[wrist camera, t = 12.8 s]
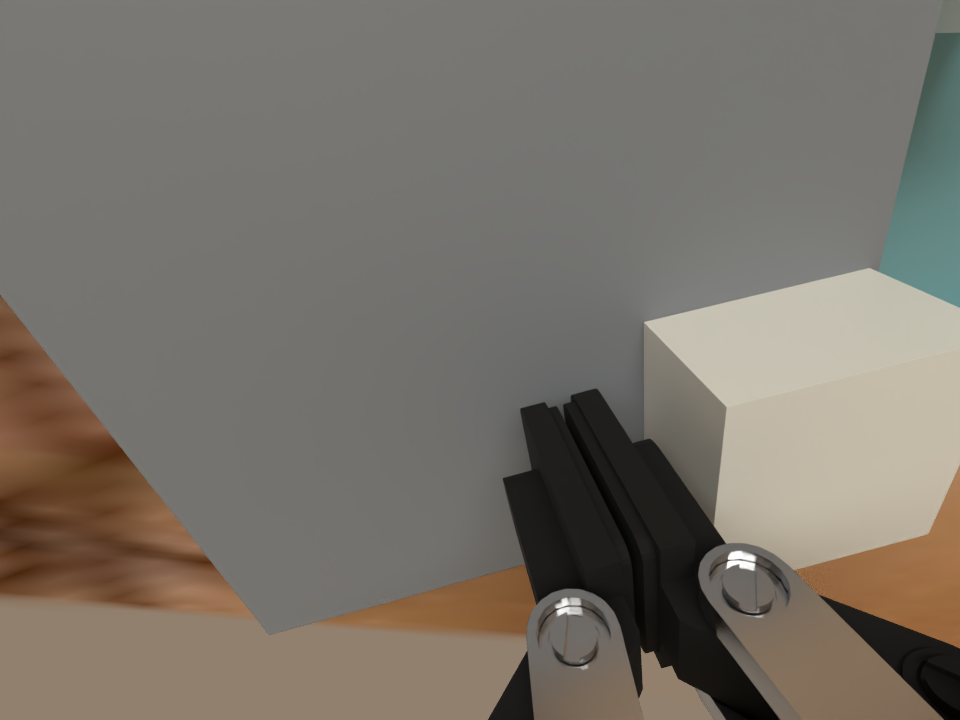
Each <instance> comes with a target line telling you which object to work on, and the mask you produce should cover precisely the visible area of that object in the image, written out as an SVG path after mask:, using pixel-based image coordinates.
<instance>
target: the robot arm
mask: <svg viewBox="0 0 960 720" xmlns="http://www.w3.org/2000/svg"><path fill="white" fill-rule="evenodd" d="M563 410H564V417H565V421H564V419H563V417H562V415H561V413H560V411H559V409H558V407H557V406H554V407H550V408H548V406H547V404H546V403H545V402H542V403H539V404H535V405H531V406H527V407H524V408H520V413H521V418H522V423H523V428H524V433H525V438H526V443H527V448H528V453H529V458H530V463H531V469H532V470H531V471H527V472H523V473H520V474H516V475H512V476H509V477H505V478H503V483H504V487H505V491H506V495H507V499H508V503H509V507H510V511H511V515H512V519H513V523H514V526H515V530H516V534H517V537H518V541H519V544H520V548H521V551H522V555H523V559H524V562H525V566H526V569H527V573H528V576H529V580H530V583H531V587H532V590H533V594H534V597H535V601H536V607H535V608H534V609H533V610H532V613H531V615H530V618H529V620H528V623H527V635H526V639H527V649H528V651H527V652H526V654H525V656H524V658H523V659H522V661H521V663H520V665H519V667H518V668H517V670H516V672H515V674H514V675H513V677H512V679H511V680H510V682H509V684H508V686H507V687H506V689H505V691H504V693H503V695H502V696H501V698H500V700H499V702H498V703H497V705H496V707H495V708H494V710H493V712H492V714H491V715H490V717H489V719H488V720H644V718H643V714H642V710H641V706H640V702H639V697H640V694H641V692H642V689H643V686H642V668H641V667H642V666H641V648H642V649H643V651H644V652H645V653H649V652H652V651H654V653H655V654H656V657H657V659H658V661H659V664H660V666H661V668H664V667H668V666H671V665H672V667H673V669H674V671H675V673H676V675H677V677H678V679H680V680H682V681H683V682H686V683H687V684H689V685H691V686H693V687H695V689H696V691H697V693H698V695H699V697H700V699H701V701H702V702H703V703H704V705H705V707H706V708H707V710H708V712H709V713H710V714H711V716H712V718H713V719H714V720H960V649H959V648H957V647H955V646H953V645H950V644H948V643H945V642H942V641H940V640H937V639H935V638H932V637H929V636H927V635H924V634H921V633H919V632H916V631H913V630H911V629H908V628H905V627H903V626H900V625H897V624H895V623H892V622H889V621H887V620H884V619H881V618H879V617H876V616H874V615H871V614H868V613H866V612H863V611H860V610H858V609H855V608H852V607H850V606H847V605H844V604H842V603H839V602H836V601H834V600H831V599H828V598H826V597H823V596H820V595H818V594H817V593H816V592H815V591H814V590H813V589H812V588H811V587H810V586H809V585H808V584H807V583H806V582H805V581H804V580H803V579H802V578H801V577H800V576H799V575H798V574H797V573H796V572H795V571H794V570H793V569H792V568H791V567H790V566H789V565H788V564H786V563H785V562H784V561H783V560H781V559H780V558H779V557H777V556H776V555H775V554H773V553H771V552H769V551H767V550H765V549H763V548H761V547H758V546H754V545H750V544H746V543H728V544H726V543H725V541H724V540H723V538H722V537H721V535H720V534H719V533H718V531H717V530H716V528H715V527H714V525H713V524H712V523H711V521H710V520H709V518H708V517H707V515H706V514H705V513H704V511H703V510H702V508H701V507H700V505H699V504H698V503H697V501H696V500H695V498H694V497H693V496H692V494H691V493H690V491H689V490H688V488H687V487H686V486H685V484H684V483H683V481H682V480H681V478H680V477H679V476H678V474H677V473H676V471H675V470H674V468H673V467H672V466H671V464H670V463H669V461H668V460H667V458H666V457H665V456H664V454H663V453H662V451H661V450H660V448H659V447H658V446H657V444H656V443H655V442H654V441H653V440H651V439H645V440H642V441H638V442H634V443H632V441H631V440H630V438H629V437H628V435H627V433H626V432H625V430H624V429H623V427H622V426H621V424H620V423H619V421H618V419H617V418H616V416H615V415H614V413H613V412H612V410H611V409H610V407H609V405H608V404H607V402H606V401H605V399H604V398H603V396H602V395H601V393H600V392H599V390H598V389H596V388H595V389H591V390H588V391H584V392H580V393H576V394H573V395H571V402H569V403H565V404H563ZM640 645H641V647H640Z"/></svg>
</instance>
